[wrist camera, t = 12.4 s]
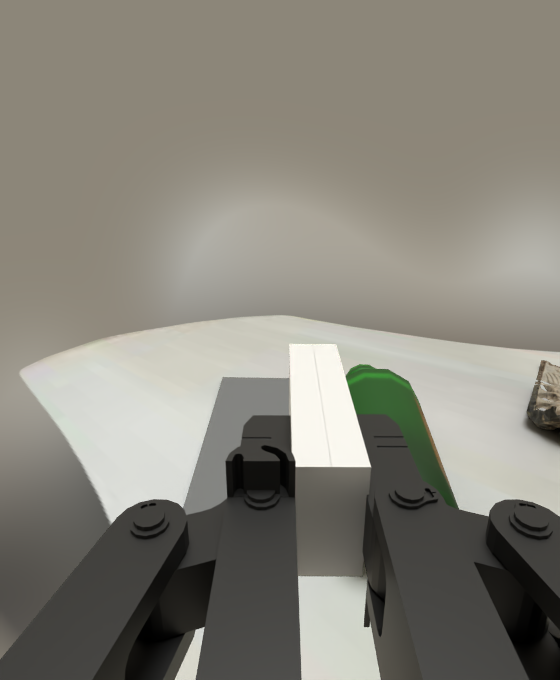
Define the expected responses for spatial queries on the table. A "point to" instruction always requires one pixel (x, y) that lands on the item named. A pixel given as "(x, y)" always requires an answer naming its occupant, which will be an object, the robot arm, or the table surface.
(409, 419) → the bottle
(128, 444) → the table surface
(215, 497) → the mat
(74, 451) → the table surface
